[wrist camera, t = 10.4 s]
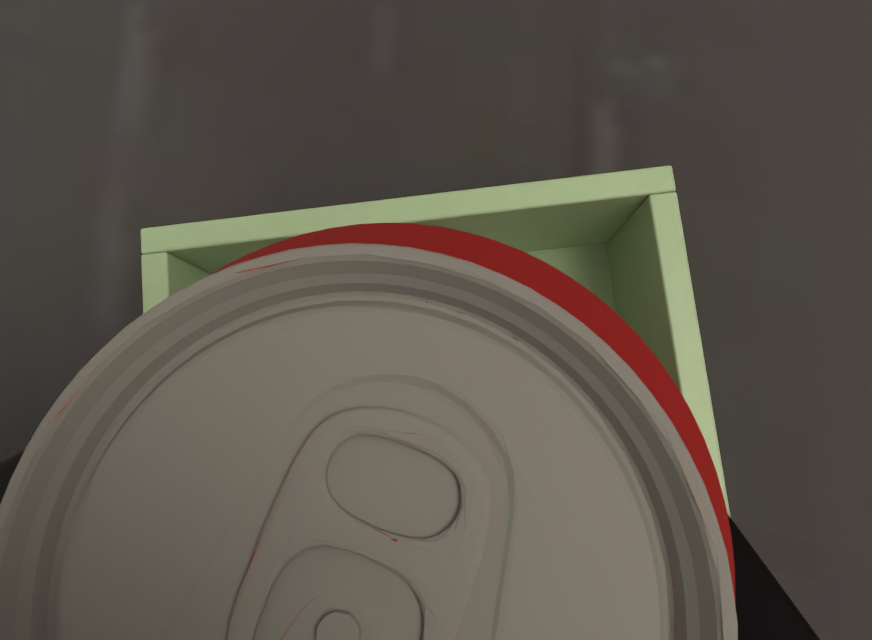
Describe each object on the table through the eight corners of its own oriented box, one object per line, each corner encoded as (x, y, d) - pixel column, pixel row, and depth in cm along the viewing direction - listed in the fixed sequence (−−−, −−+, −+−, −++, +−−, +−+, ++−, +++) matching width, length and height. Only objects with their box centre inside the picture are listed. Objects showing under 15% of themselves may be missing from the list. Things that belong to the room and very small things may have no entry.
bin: (685, 656, 15) (772, 761, 11) (246, 693, 16) (160, 808, 11) (619, 225, 17) (672, 163, 13) (222, 271, 18) (139, 227, 13)
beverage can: (275, 535, 16) (-298, 919, 4) (366, 301, 17) (110, 43, 5) (514, 633, 15) (677, 1445, 3) (597, 384, 16) (967, 324, 4)
